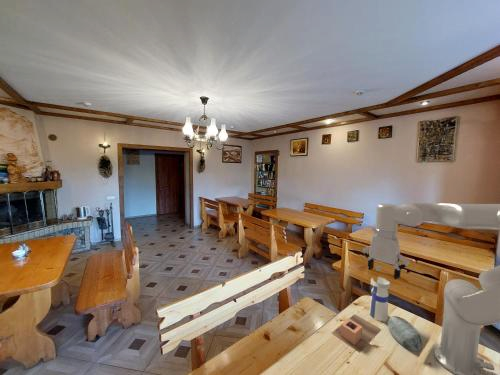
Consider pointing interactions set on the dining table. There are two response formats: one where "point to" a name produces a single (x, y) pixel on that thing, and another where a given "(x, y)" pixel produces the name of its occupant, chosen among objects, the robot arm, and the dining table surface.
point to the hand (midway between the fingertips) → (383, 273)
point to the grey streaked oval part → (404, 333)
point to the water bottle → (379, 298)
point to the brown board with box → (367, 333)
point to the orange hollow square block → (351, 331)
